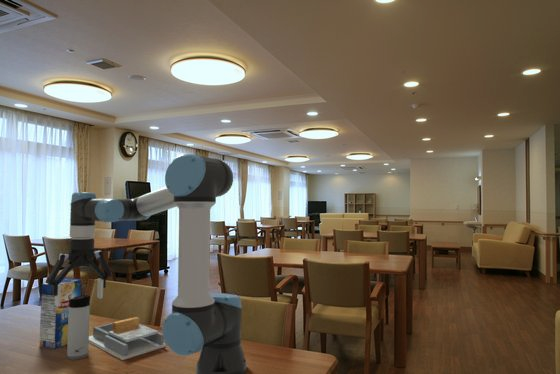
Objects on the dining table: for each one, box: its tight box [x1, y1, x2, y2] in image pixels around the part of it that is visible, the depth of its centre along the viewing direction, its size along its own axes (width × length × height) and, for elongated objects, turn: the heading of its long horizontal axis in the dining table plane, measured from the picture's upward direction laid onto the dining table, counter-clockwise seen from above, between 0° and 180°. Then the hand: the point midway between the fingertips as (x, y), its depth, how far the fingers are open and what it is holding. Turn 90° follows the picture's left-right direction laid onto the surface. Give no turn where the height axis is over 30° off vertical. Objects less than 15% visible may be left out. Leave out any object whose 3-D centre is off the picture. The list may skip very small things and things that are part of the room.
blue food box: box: [39, 278, 82, 350], centre depth 140 cm, size 7×11×22 cm, turn 163°
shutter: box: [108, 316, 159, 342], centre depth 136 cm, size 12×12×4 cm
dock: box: [89, 322, 166, 361], centre depth 139 cm, size 28×16×4 cm, turn 50°
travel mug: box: [66, 294, 91, 361], centre depth 128 cm, size 6×7×20 cm
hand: (79, 301), depth 128 cm, fingers open, 13 cm apart
